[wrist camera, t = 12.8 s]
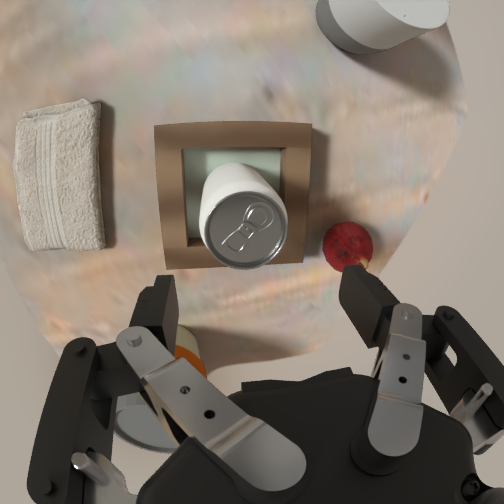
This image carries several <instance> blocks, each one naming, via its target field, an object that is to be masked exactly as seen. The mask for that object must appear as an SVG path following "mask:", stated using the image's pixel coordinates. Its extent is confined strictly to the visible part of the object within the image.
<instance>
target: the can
mask: <svg viewBox="0 0 504 504" xmlns="http://www.w3.org/2000/svg"><path fill="white" fill-rule="evenodd" d="M287 224H288V219H287V212H286V209H285V206H284V204H283V202H282V200H281V198H280V197H279V196H278V194H277V193H276V192H275V191H274V189H273V188H272V187H271V186H270V185H269V184H268V183H267V182H266V181H265V180H264V178H263V177H262V176H261V175H260V174H259V173H258V172H257V171H255V170H254V169H253V168H251V167H250V166H248V165H245V164H243V163H237V162H232V163H226V164H223V165H221V166H219V167H217V168H216V169H214V170H213V171H212V172H211V173H210V175H209V176H208V177H207V179H206V181H205V184H204V188H203V193H202V200H201V207H200V216H199V228H200V234H201V237H202V240H203V242H204V244H205V245H206V247H207V248H208V249H209V251H210V252H211V254H212V255H213V256H214V257H215V258H216V259H217V260H218V261H219V262H221V263H222V264H224V265H226V266H228V267H231V268H234V269H241V270H247V269H254V268H258V267H260V266H263V265H265V264H267V263H268V262H270V261H271V260H272V259H274V258H275V257H276V256H277V255H278V253H279V252H280V251H281V249H282V248H283V246H284V244H285V241H286V238H287V230H288V227H287Z"/></svg>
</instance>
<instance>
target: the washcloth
mask: <svg viewBox="0 0 504 504" xmlns="http://www.w3.org/2000/svg"><path fill="white" fill-rule="evenodd" d="M100 114H101V103H91V102H90V101H89V100H87V99H86V98H84V97H83V99H80V100H79V101H75V102H70V103H64V104H59V105H53V106H49V107H44V108H39V109H35V110H31V111H27V112H24V114H23V119H22V120H21V121H19V123H18V124H17V127H16V149H15V158H14V160H13V170H14V173H15V182H16V190H17V202H18V208H19V212H20V217H21V222H22V228H23V233H24V239H25V242H26V244H27V246H28V247H29V249H30V251H45V250H52V249H54V248H58V249H60V248H69V250H79V251H80V250H85V251H87V250H101V249H103V248H104V247H105V246H106V245H107V244H106V243H105V240H106V239H105V235H104V228H105V226H103V220H104V219H103V215H102V207H101V206H102V203H101V200H102V199H101V190H100V187H101V180H100V170H99V150H98V149H99V135H100V133H99V131H100V129H99V128H100V119H101V116H100Z"/></svg>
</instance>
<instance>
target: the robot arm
mask: <svg viewBox="0 0 504 504" xmlns="http://www.w3.org/2000/svg"><path fill="white" fill-rule="evenodd" d="M339 301H340V304H341V306H342V307H343V309H344V311H345V312H346V314H347V315H348V317H349V318H350V320H351V322H352V323H353V325H354V326H355V328H356V330H357V331H358V333H359V334H360V336H361V338H362V339H363V341H364V343H365V344H366V346H367V347H368V348H373V347H379V350H378V353H377V356H376V359H375V363H374V367H373V370H372V374H371V377H369V376H365V375H359V374H353V372H352V370H351V368H350V367H346V368H341V369H337V370H331V371H326V372H323V373H321V374H318V375H316V376H313V377H311V378H308V379H306V380H303V381H282V380H262V381H251V382H242V383H241V386H242V387H241V389H242V391H238V392H236V393H233V394H231V395H229V396H227V397H226V396H225V395H224V394H223V393H222V392H220V391H219V390H218V389H217V388H216V387H215V386H214V385H213V384H212V383H210V382H209V381H208V380H207V379H206V378H205V377H204V376H203V375H202V374H201V373H200V372H198V371H197V370H196V369H195V368H194V367H193V366H192V365H191V364H190V363H189V362H188V361H187V360H186V359H185V358H183V357H179V358H177V359H176V358H174V354H175V344H176V335H177V326H178V317H179V308H178V300H177V293H176V287H175V280H174V276H173V275H157V277H156V280H155V283H154V286H150V287H146V288H145V289H144V290H143V291H142V292H141V293H140V294H139V297H138V300H137V303H136V306H135V309H134V312H133V315H132V318H131V321H130V324H129V328H127V329H125V330H123V331H121V332H120V333H119V335H118V336H117V338H116V342H113V343H110V344H105V345H101V346H96V344H95V342H94V341H93V340H92V339H90V338H86V337H81V338H77V339H74V340H72V341H70V342H69V343H68V344H67V345H66V346H65V348H64V350H63V353H62V355H61V358H60V361H59V364H58V366H57V369H56V372H55V374H54V377H53V380H52V383H51V386H50V389H49V392H48V395H47V398H46V402H45V405H44V408H43V412H42V415H41V419H40V422H39V426H38V430H37V434H36V438H35V442H34V446H33V451H32V456H31V461H30V466H29V471H28V477H27V489H28V493H29V495H30V497H31V498H32V500H33V501H34V502H35V503H36V504H504V488H493V487H490V486H487V485H485V484H484V483H483V482H481V480H480V479H479V477H478V475H477V473H476V469H475V464H474V457H473V454H475V455H480V454H483V453H484V452H485V451H487V450H488V449H489V448H490V447H491V446H492V445H493V444H494V443H495V442H496V441H498V440H499V439H500V438H501V437H502V436H503V435H504V366H503V365H502V363H501V362H500V361H499V359H498V358H497V357H496V356H495V355H494V353H493V352H492V351H491V350H490V348H489V347H488V346H487V344H486V343H485V342H484V341H483V340H482V339H481V337H480V336H479V335H478V334H477V333H476V331H475V330H474V329H473V328H472V327H471V326H470V325H469V323H468V322H467V321H466V320H465V319H464V318H463V317H462V316H461V314H460V313H459V312H458V311H457V310H455V309H454V308H452V307H449V306H439V307H438V308H437V309H436V312H435V314H434V315H422V313H421V311H420V310H419V309H418V308H417V307H415V306H413V305H411V304H407V303H400V302H399V301H398V300H397V298H396V297H395V296H394V295H393V294H392V293H391V292H390V290H388V288H387V287H386V286H385V285H383V283H382V282H381V281H380V280H379V278H377V277H376V276H374V275H372V274H371V273H368V272H367V271H366V270H365V269H364V267H363V266H362V265H361V264H353V265H345V266H344V268H343V273H342V279H341V284H340V289H339ZM449 345H450V346H451V348H452V349H453V350H454V352H455V353H456V355H457V363H456V365H455V367H454V365H453V364H452V363H451V361H450V359H449V358H448V357H447V355H446V354H445V352H446V350H447V348H448V346H449ZM424 372H425V373H426V375H427V377H428V378H429V380H430V382H431V383H432V385H433V387H434V388H435V390H436V392H437V393H438V395H439V397H440V399H441V400H442V402H443V404H444V406H445V407H446V409H447V411H448V413H449V415H450V416H448V415H446V414H444V413H442V412H440V411H438V410H436V409H434V408H432V407H430V406H428V405H426V404H424V403H422V402H421V397H422V390H423V380H424ZM132 393H138V395H139V396H140V397H141V399H142V400H143V401H144V403H145V404H146V405H147V407H148V408H149V409H150V411H151V412H152V413H153V414H154V416H155V417H156V418H157V419H158V421H159V422H160V423H161V425H162V426H163V428H164V429H165V431H166V432H167V434H168V435H169V436H170V438H171V439H172V440H173V441H174V442H175V444H176V445H177V446H178V448H177V449H176V450H175V451H174V453H173V454H172V455H171V456H170V457H169V458H168V459H167V460H166V461H165V462H164V464H163V465H162V466H161V467H160V468H159V469H158V470H157V471H156V472H155V473H154V474H153V475H152V476H151V477H150V478H149V479H148V480H147V481H146V483H145V484H144V485H143V486H142V487H141V489H140V491H139V493H138V495H134V494H131V493H129V491H128V489H127V486H126V480H125V477H124V475H123V474H122V473H121V471H119V469H117V468H116V467H115V466H114V465H113V464H112V463H111V455H112V443H113V433H114V424H115V415H116V407H117V400H118V397H119V396H123V395H128V394H132Z"/></svg>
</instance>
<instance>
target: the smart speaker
mask: <svg viewBox="0 0 504 504" xmlns="http://www.w3.org/2000/svg"><path fill="white" fill-rule="evenodd" d="M449 11H450V9H449V2H448V0H318V3H317V6H316V19H317V22H318V25H319V27H320V29H321V31H322V32H323V34H324V35H325V36H326V37H327V38H328V39H329V40H330V41H331V42H332V43H333V44H335V45H336V46H338V47H339V48H341V49H343V50H346V51H348V52H352V53H357V54H373V53H378V52H381V51H384V50H387V49H389V48H392V47H394V46H396V45H398V44H400V43H403V42H405V41H407V40H409V39H411V38H414V37H416V36H418V35H421V34H423V33H425V32H428V31H430V30H433V29H435V28H438V27H440V26H442V25H443V24H444V23H445V22H446V21H447V19H448V16H449Z"/></svg>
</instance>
